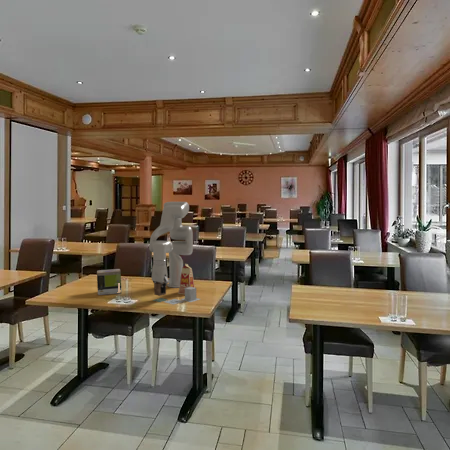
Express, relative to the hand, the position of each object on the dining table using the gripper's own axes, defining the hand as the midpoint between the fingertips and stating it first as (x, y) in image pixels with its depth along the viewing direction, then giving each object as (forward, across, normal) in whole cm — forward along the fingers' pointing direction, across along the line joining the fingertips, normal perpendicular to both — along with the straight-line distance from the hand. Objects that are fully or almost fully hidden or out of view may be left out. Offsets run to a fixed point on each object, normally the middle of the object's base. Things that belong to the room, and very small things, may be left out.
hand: (160, 292), depth 243 cm
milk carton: (+5, -1, +23) cm, 24 cm away
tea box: (+5, -41, -9) cm, 42 cm away
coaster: (+5, 0, 0) cm, 5 cm away
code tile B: (+5, +13, +13) cm, 19 cm away
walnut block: (+1, 0, 0) cm, 1 cm away
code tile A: (+5, +9, +3) cm, 11 cm away
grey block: (+5, +13, +13) cm, 19 cm away
